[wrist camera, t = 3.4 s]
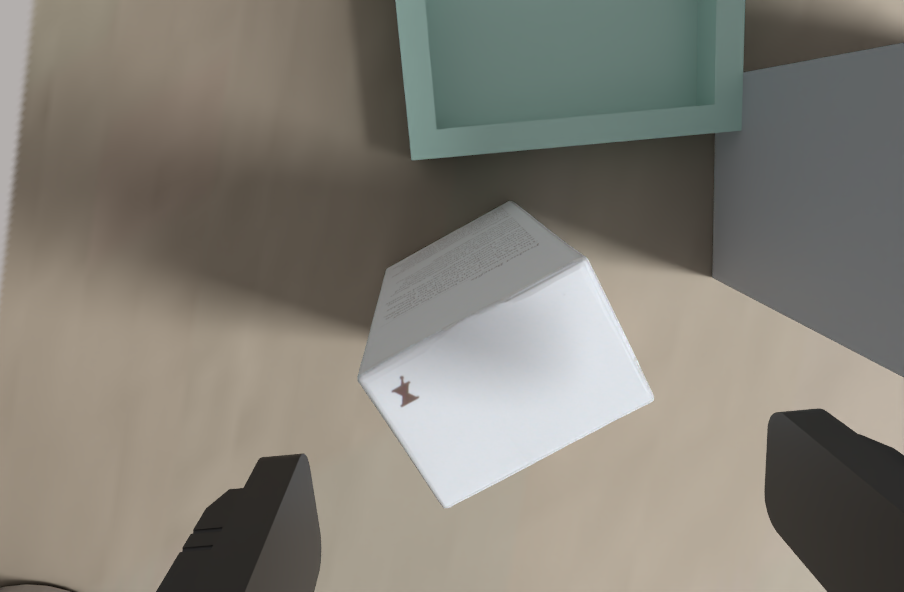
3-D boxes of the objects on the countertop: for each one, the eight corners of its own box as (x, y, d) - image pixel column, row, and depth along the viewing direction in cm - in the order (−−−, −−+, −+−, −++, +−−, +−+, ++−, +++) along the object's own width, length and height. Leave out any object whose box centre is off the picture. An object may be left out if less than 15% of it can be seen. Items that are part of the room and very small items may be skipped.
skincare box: (434, 352, 27) (438, 518, 15) (383, 267, 26) (347, 376, 14) (561, 285, 26) (663, 404, 15) (514, 195, 26) (585, 248, 14)
